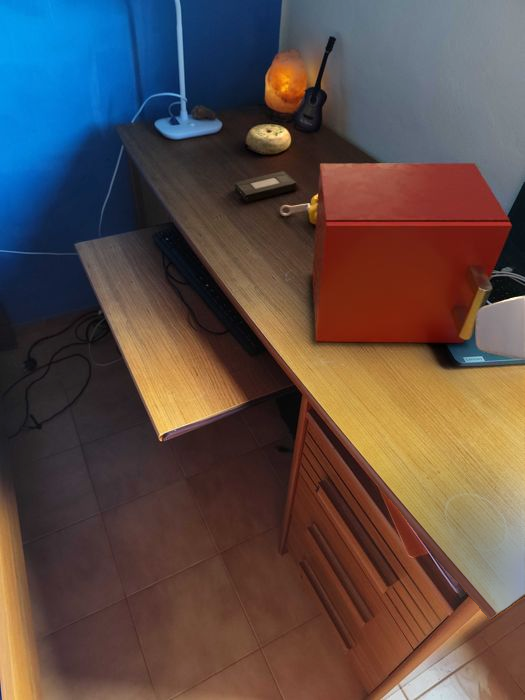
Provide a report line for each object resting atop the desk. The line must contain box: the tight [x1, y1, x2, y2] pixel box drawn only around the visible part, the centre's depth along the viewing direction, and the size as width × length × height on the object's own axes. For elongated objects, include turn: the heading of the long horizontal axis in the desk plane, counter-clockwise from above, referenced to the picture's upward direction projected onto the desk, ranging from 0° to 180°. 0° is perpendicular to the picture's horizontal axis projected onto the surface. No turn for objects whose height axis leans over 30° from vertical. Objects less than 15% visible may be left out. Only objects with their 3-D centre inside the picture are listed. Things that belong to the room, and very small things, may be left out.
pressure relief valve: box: [279, 194, 318, 226], centre depth 110 cm, size 6×12×10 cm
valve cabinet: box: [311, 162, 510, 333], centre depth 81 cm, size 18×26×24 cm
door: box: [315, 221, 513, 344], centre depth 73 cm, size 7×26×24 cm, turn 88°
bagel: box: [245, 123, 292, 155], centre depth 139 cm, size 14×13×5 cm
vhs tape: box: [234, 170, 297, 203], centre depth 122 cm, size 8×14×2 cm, turn 115°
